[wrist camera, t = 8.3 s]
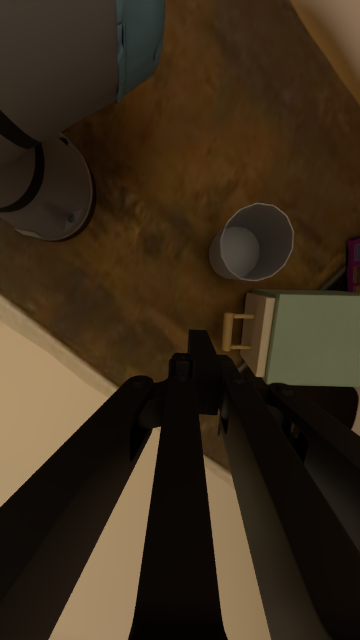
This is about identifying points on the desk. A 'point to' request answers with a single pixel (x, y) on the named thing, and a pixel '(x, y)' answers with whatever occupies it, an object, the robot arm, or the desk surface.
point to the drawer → (252, 331)
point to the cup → (252, 243)
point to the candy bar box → (353, 265)
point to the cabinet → (314, 338)
